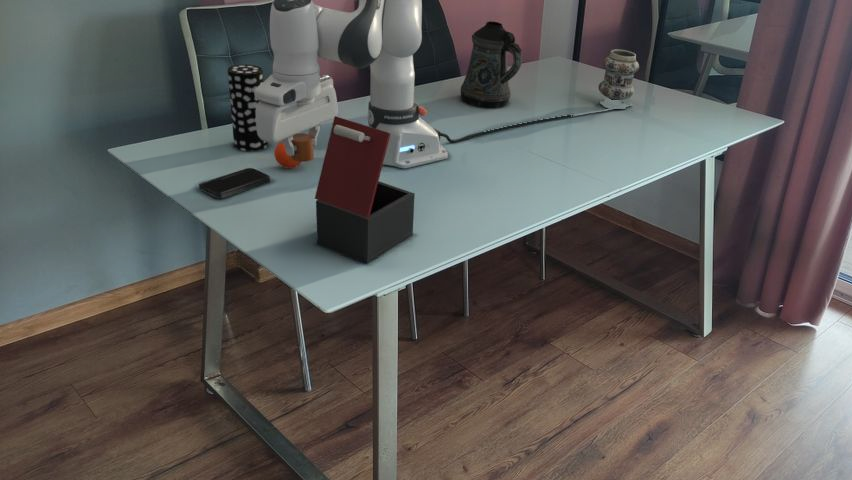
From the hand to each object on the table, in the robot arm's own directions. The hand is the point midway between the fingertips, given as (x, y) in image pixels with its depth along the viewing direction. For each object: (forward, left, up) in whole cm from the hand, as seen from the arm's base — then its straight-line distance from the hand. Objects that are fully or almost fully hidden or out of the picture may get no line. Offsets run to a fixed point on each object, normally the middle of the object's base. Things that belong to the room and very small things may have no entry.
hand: (301, 150), depth 155 cm
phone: (+8, -24, -17) cm, 31 cm away
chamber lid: (-6, +13, +1) cm, 14 cm away
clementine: (-7, -31, -17) cm, 36 cm away
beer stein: (-84, -63, -17) cm, 106 cm away
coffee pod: (0, 0, -2) cm, 2 cm away
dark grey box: (-10, +11, -17) cm, 22 cm away
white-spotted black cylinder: (-2, -47, -17) cm, 50 cm away
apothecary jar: (-124, -48, -17) cm, 135 cm away
